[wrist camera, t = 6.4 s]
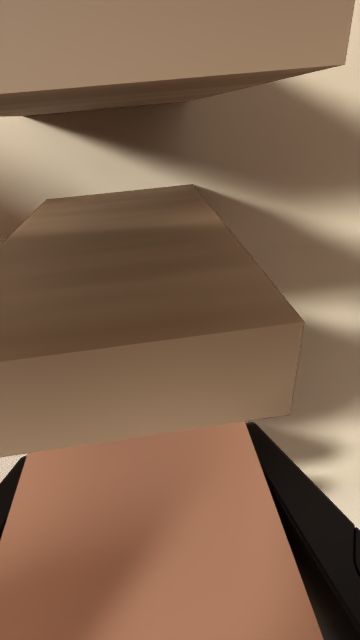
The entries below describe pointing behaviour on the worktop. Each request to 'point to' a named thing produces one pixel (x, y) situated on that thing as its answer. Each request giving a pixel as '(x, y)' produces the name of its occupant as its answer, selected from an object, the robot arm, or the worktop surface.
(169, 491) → the domino
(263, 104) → the worktop surface
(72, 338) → the domino
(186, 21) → the domino
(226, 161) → the worktop surface
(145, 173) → the worktop surface
